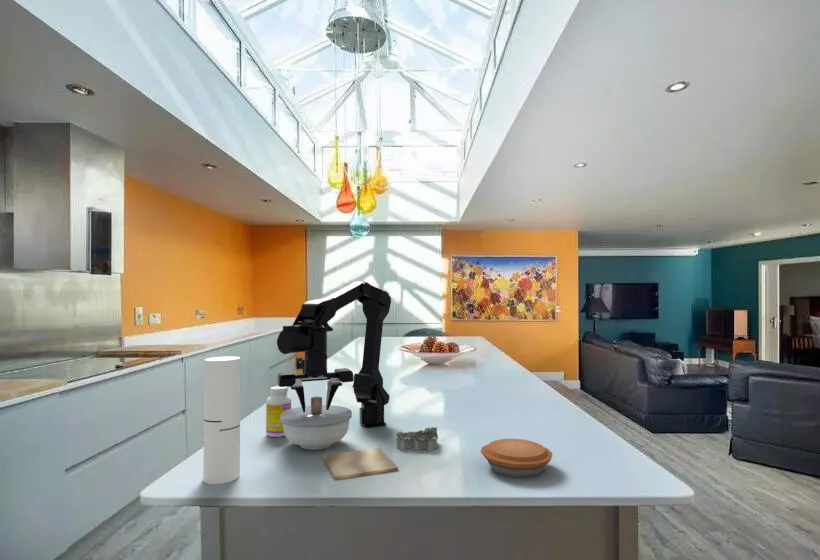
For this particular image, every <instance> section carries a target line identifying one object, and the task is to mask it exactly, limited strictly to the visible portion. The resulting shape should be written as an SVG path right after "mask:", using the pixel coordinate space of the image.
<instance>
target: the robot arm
mask: <svg viewBox="0 0 820 560" xmlns="http://www.w3.org/2000/svg"><path fill="white" fill-rule="evenodd" d="M355 301H357V302H359V303H360V304H362V305H361V306H362V312H363V315H364V316H365V317H364V318H365V320H366V322H365V332H364V333H365V334H364V344H363V353H362V354H363V355H362V365H361V368H360V370H359V371H358V373H354V372H353V371H352V370H351V369H349V368H348V367H344V368H342V367H341V368H335V369H334V372H330V371H329V372H328V333H329V332H333V331H334V327H332V326H331V325H329V322H330V321H331V320H332V319H333V318H334V317H335V316H336V313H337V312H338V311H339V310H340V309H343V308H344V307H346V306H347V305H349V304H351V303H353V302H355ZM391 304H392V297H391V295H390V294H389V292H387V291H386V290H383V289H381V288H379V287H377V286H375V285H374V286H373V285H372V284H370V283H369V282H367V281H364V280H363V281H353V282H351V283H350V285H347V286H345V287H344V288H341V289H340V290H338V291H336V292H334V293H332V294H329V296H326V297H321V298H318V299H312V300H308V301H305V302H303V303H302V304H301V308H300V311H299V312H298V314H297V316H296V318H294V321H293V323H292V325H283V326H282V330H281V331H280V332H279V333H278V337H277V339H276V345H277V348H278V349H277V350H278V351H279V352H280V353H281V354H282V355H289V354H295V353H304V355H303V356H304V357H303V356H302V357H295V362H294V364H295V367H294V368H295V371H302V374H301V373H300V374H296V373H295V372H294V371H283V372H281V371H280V372H279V373H278V374H277V380H276V381H277V382H276V383H277V386H279V387H288V388H290V390H295V393H296V395H297V397H298V401H299V403H300V407H302V410H303V412H305V406H306V400H305V399H306V398H305V388H304V385H303V383H304V382H315V381H316V382H318V381H326V385H327V389H326V401H325V405H326V410H329V407H330V405H332V404H331V403H332V402H333V399H334V397H335V394H336V393H337V390H338V389H339V388H340V387H342V386H343V383H353V384H352V386H351V387H352V388H353V394H354V395H355V399H356V402H357V403H360V404H361V406H360V407H359V423H360V424H361V425H362V426H363V427H364V428H371V427H379V426H381V427H382V426H387V423H386V421H385V406H386V405H387V404H389V403H390V402H389V401H390V398H391V397H390V395H389V393H388V392H387V391H386V389H385V388H384V378H383V376H382V374H381V371H380V359H381V358H380V357H381V347H382V338H383V337H382V336H383V335H382V334H383V326H384V320H386V318H387V316H388V314H389V313H390V309H391Z"/></svg>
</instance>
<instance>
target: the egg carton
mask: <svg viewBox="0 0 820 560" xmlns="http://www.w3.org/2000/svg"><path fill="white" fill-rule="evenodd" d="M437 428H438V427H432V426H431V427H426V428H424V430H423V429H422V430H421V429H419V430H417V431H412V430H411V431H406V432H403V431H397V432H396V435H395V437H396V448H397V449H400V450H406V449H413V450H415V451H416V450H417V451H418V450H420V449H426V450H428V451H433V450H435V449H437V448H438V439H439V436H438V429H437Z"/></svg>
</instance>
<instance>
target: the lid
mask: <svg viewBox="0 0 820 560" xmlns="http://www.w3.org/2000/svg"><path fill="white" fill-rule="evenodd" d="M352 417H353V414H352V410H351V409H350V408H348V407H345V406H342V405H341V406H340V405H335V404H333V405H332V404H330V407H329V410H326V404H323V397H322V396H312V397H310V405H305V412H303V410H302V407H301V406H298V407H294V408H291V409H290V410H287V411H285V412H283V413H282V414H281V415H280V421H281V422H282V423H283V424H286V425H289V426H295V427H323V426H330V425H335V424H339V423H343V422H345V421H347V420H349V421H350V420H351V419H352Z"/></svg>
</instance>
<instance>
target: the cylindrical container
mask: <svg viewBox="0 0 820 560" xmlns="http://www.w3.org/2000/svg"><path fill="white" fill-rule="evenodd" d="M203 363H204V364H203V365H204V366H203V367H204V369H203V372H204V373H203V374H204V375H203V377H204V378H203V382H204V383H203V462H202V463H203V464H202V465H203V469H202V470H203V475H202V477H203V478H202V481H203V483H205V484H207V485H223V484H228V483H231V482H234V481H235V480H238V479H239V478H240V476H241V474H240V473H241V357H240V356H232V355H231V356H229V355H227V356H212V357H207V358H205V359H204V361H203Z"/></svg>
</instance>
